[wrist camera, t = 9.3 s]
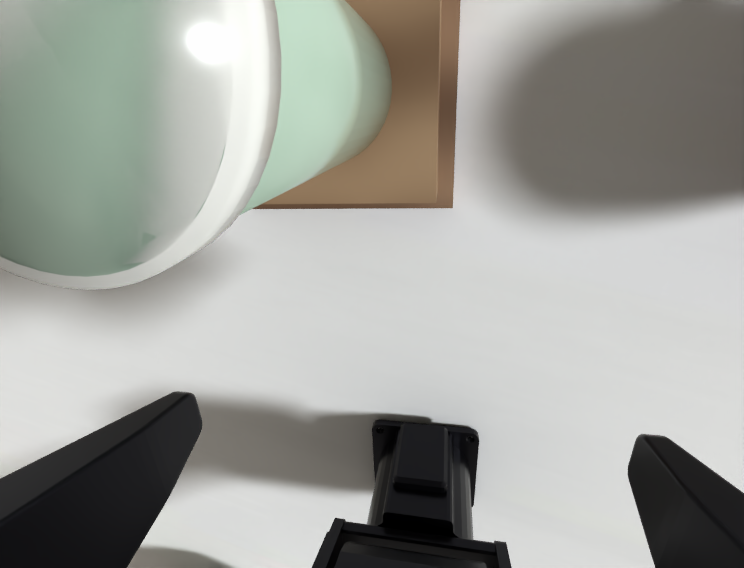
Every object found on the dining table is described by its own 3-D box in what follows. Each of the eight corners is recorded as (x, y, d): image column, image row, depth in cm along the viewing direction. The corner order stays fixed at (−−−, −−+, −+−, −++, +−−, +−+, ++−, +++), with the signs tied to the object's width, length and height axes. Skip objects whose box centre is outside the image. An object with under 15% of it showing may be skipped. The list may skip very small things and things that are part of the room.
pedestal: (452, 204, 19) (452, 219, 16) (251, 205, 21) (221, 219, 18) (462, -73, 15) (465, -114, 12) (210, -40, 17) (164, -69, 14)
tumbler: (370, 189, 16) (214, 349, 5) (235, 142, 16) (-171, 205, 6) (420, 25, 14) (311, -294, 3) (259, -30, 14) (-411, -520, 3)
